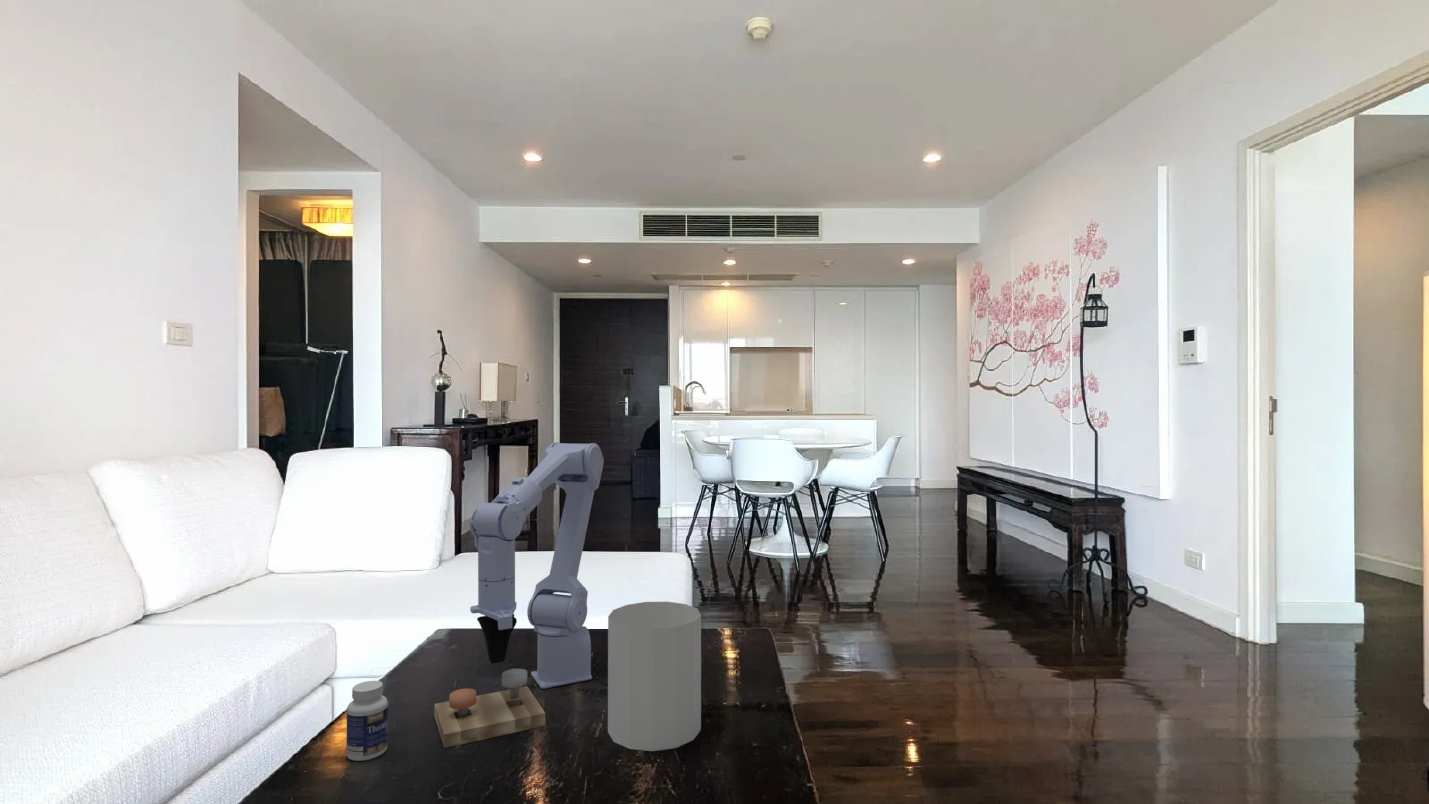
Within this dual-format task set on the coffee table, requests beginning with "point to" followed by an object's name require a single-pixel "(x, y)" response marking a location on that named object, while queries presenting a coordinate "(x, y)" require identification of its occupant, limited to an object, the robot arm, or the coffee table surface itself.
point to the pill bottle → (367, 722)
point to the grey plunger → (514, 681)
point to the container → (654, 675)
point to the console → (489, 717)
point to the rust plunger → (462, 700)
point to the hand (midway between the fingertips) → (496, 661)
